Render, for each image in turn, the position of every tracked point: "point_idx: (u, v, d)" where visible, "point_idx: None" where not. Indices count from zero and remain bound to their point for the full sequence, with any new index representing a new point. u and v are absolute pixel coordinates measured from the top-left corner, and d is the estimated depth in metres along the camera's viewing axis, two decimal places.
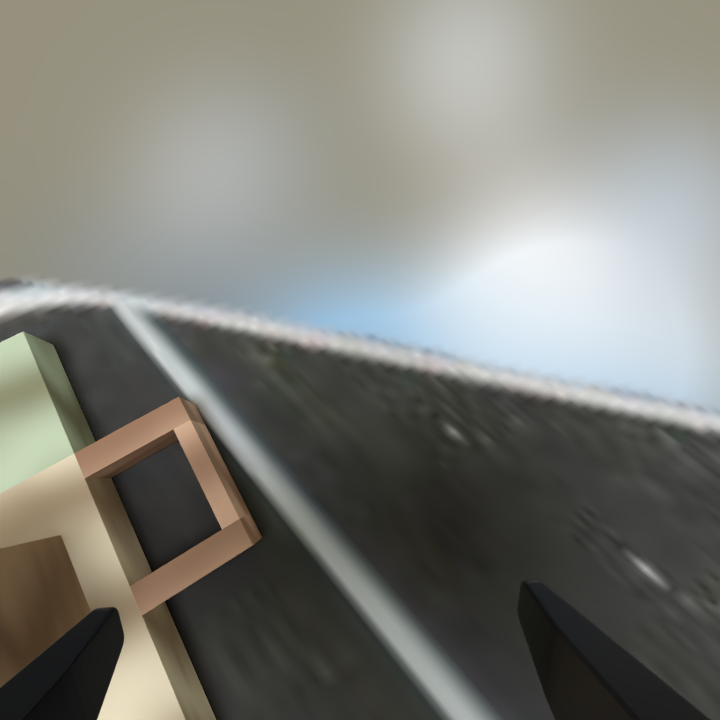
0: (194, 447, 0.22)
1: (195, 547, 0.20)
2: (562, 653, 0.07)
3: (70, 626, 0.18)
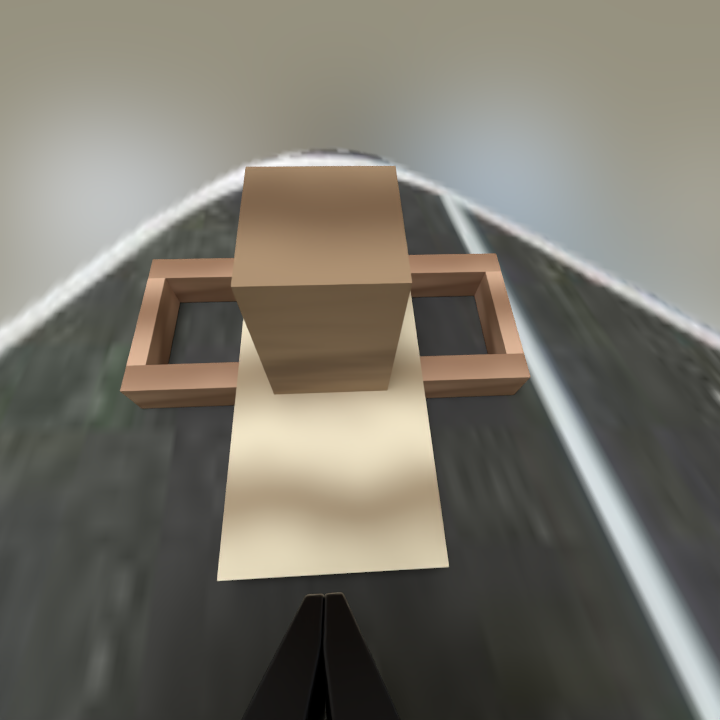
0: (499, 290, 0.25)
1: (480, 355, 0.22)
2: (323, 671, 0.07)
3: None
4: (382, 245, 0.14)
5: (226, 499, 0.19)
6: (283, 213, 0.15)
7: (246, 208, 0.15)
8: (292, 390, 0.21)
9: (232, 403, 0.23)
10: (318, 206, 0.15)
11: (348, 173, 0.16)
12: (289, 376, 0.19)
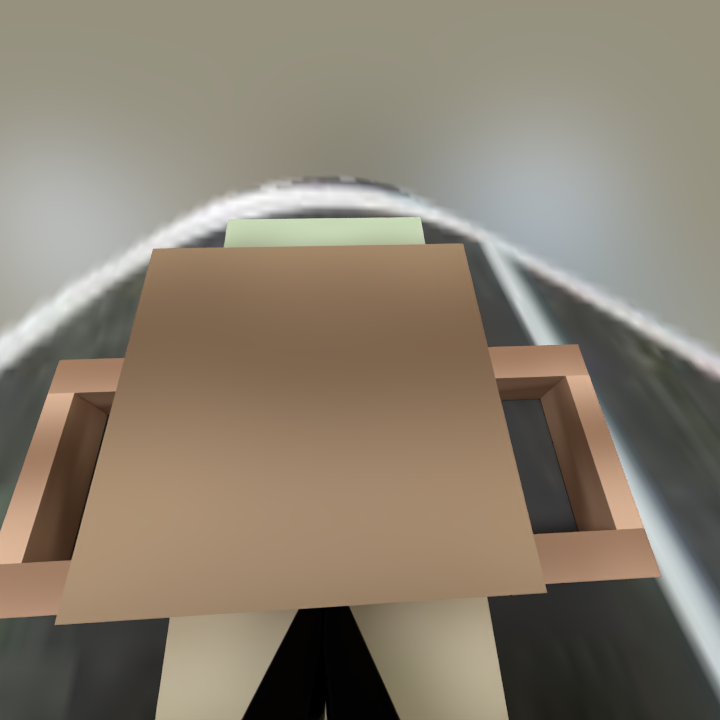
0: (590, 408, 0.16)
1: (575, 534, 0.14)
2: (323, 670, 0.07)
3: None
4: (457, 461, 0.06)
5: None
6: (224, 369, 0.06)
7: (138, 356, 0.06)
8: None
9: None
10: (302, 348, 0.07)
11: (367, 261, 0.08)
12: None
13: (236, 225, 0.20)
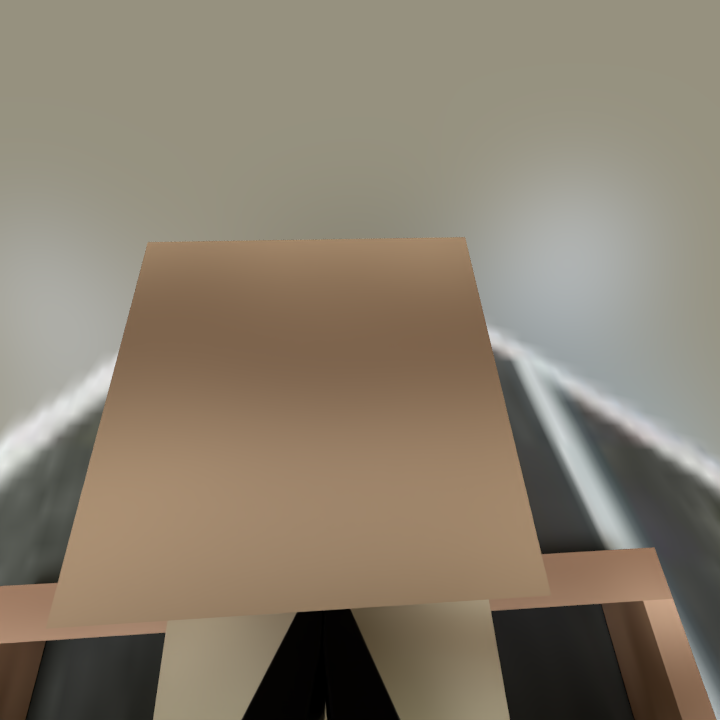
0: (679, 656, 0.12)
1: None
2: (323, 671, 0.07)
3: None
4: (459, 460, 0.06)
5: None
6: (219, 365, 0.06)
7: (132, 352, 0.06)
8: None
9: None
10: (301, 344, 0.06)
11: (368, 255, 0.07)
12: None
13: None
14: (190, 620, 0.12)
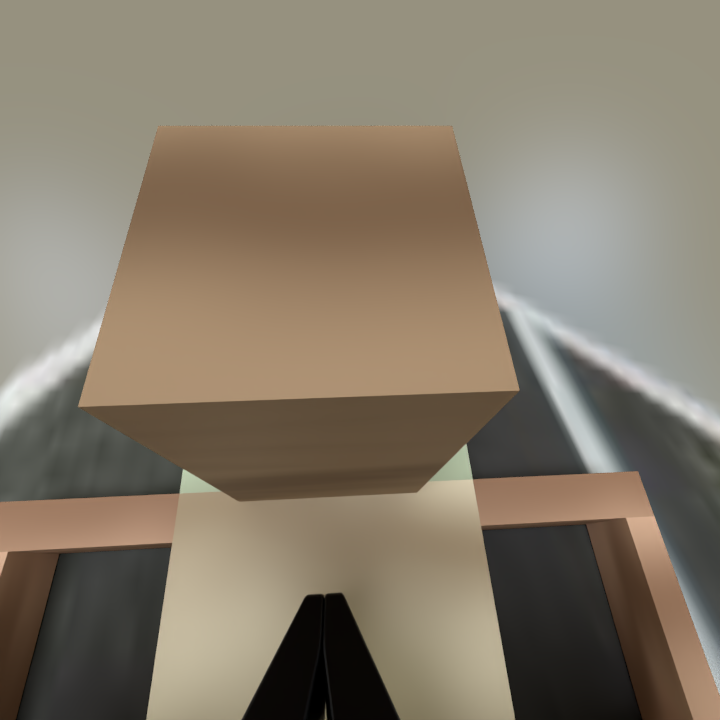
0: (659, 566, 0.13)
1: None
2: (323, 671, 0.07)
3: None
4: (440, 293, 0.06)
5: None
6: (225, 221, 0.07)
7: (147, 210, 0.07)
8: (266, 498, 0.13)
9: None
10: (300, 205, 0.07)
11: (361, 138, 0.08)
12: (259, 489, 0.11)
13: None
14: (195, 532, 0.13)
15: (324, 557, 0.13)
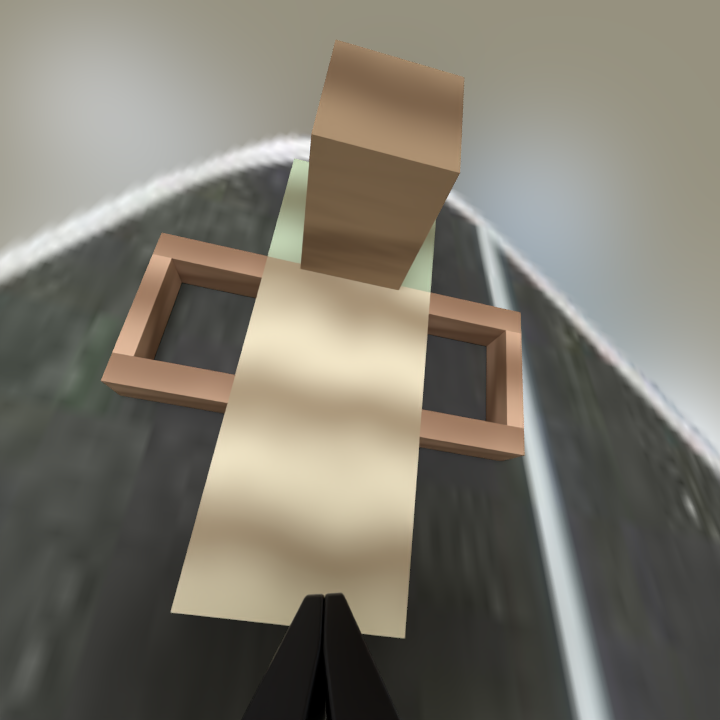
0: (514, 353, 0.24)
1: (481, 421, 0.22)
2: (324, 671, 0.07)
3: None
4: (441, 137, 0.16)
5: (194, 525, 0.18)
6: (363, 88, 0.17)
7: (332, 75, 0.17)
8: (317, 267, 0.23)
9: (218, 411, 0.22)
10: (393, 91, 0.17)
11: (423, 71, 0.18)
12: (322, 250, 0.22)
13: (300, 164, 0.26)
14: (274, 276, 0.23)
15: (342, 305, 0.23)
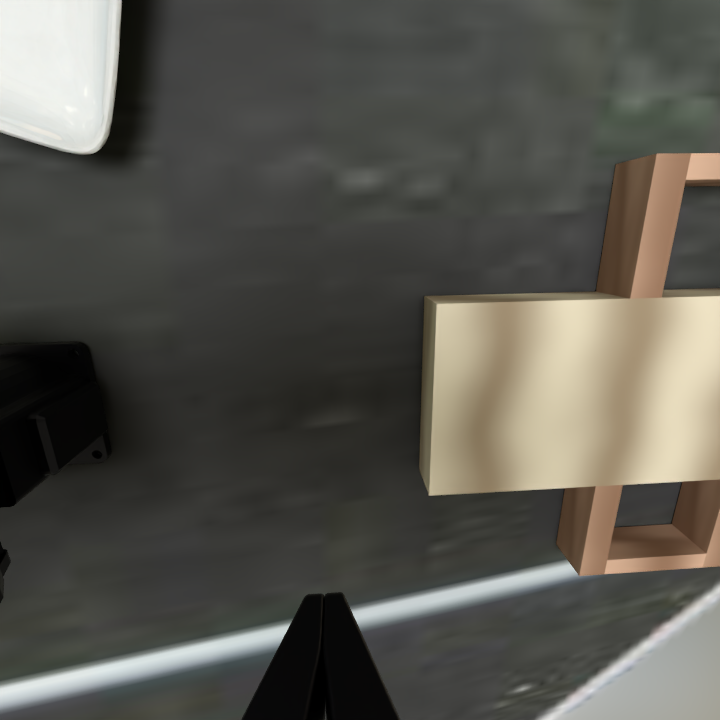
0: (680, 562, 0.23)
1: (610, 538, 0.22)
2: (323, 670, 0.07)
3: None
4: None
5: (508, 301, 0.18)
6: None
7: None
8: None
9: (601, 277, 0.20)
10: None
11: None
12: None
13: None
14: None
15: None
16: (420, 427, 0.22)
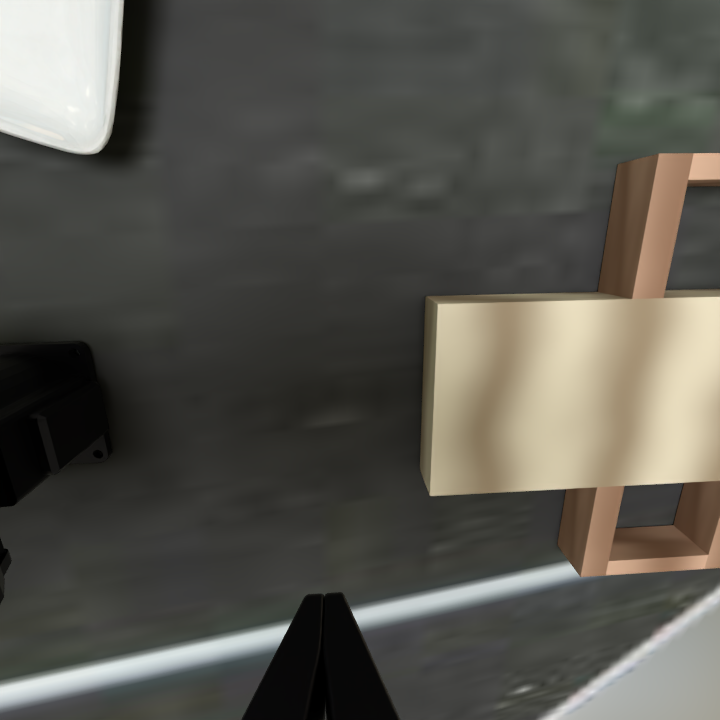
0: (681, 564, 0.23)
1: (611, 539, 0.22)
2: (323, 671, 0.07)
3: None
4: None
5: (509, 301, 0.18)
6: None
7: None
8: None
9: (603, 277, 0.20)
10: None
11: None
12: None
13: None
14: None
15: None
16: (421, 427, 0.22)
